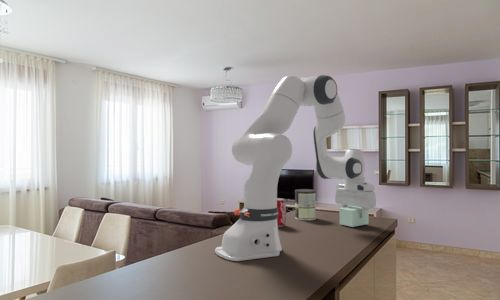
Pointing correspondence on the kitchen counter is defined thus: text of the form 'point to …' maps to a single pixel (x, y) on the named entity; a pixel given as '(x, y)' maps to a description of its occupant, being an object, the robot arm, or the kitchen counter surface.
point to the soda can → (281, 212)
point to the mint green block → (352, 216)
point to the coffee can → (305, 204)
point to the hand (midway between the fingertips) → (354, 216)
